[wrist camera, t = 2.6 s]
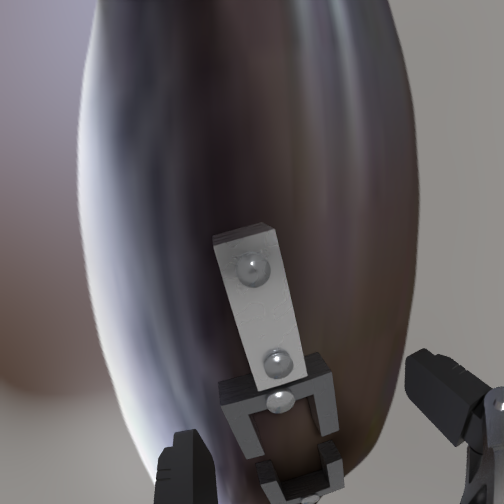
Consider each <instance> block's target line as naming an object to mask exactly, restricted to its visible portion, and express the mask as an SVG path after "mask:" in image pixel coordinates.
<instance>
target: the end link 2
mask: <svg viewBox="0 0 504 504" xmlns="http://www.w3.org/2000/svg"><path fill="white" fill-rule="evenodd" d="M318 450H319V455H320V460H321V465H322V470H319V471H316V472H313V473H310V474H307V475H304V476H301V477H298V478H294V479H291V480H288V481H284V482H280V480H279V478H278V476H277V473H276V471H275V469H274V466H273V464H272V462H271V460H267V461H263V462H259V463H255V464H256V468H257V473H258V477H259V481H260V485H261V487H262V489H263V491H264V492H265V494H266V496H267V498H268V499H269V501H270V503H271V504H298V503H302V504H314V503H316V502H317V501H318V500H319V497H320V496H323V495H325V494H328V493H331V492H334V491H336V490H339V489H341V488H344V475H343V463H342V458H341V456H340V454H339V452H338V450H337V448H336V446H335V444H334V442H333V440H329V441H326V442H324V443H321V444H318Z"/></svg>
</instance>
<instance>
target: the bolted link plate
mask: <svg viewBox="0 0 504 504" xmlns="http://www.w3.org/2000/svg"><path fill="white" fill-rule="evenodd" d="M212 239H213V248H214V251H215V254H216V258H217V261H218V265H219V268H220V272H221V275H222V278H223V282H224V285H225V288H226V292H227V295H228V298H229V302H230V305H231V308H232V311H233V315H234V318H235V321H236V324H237V327H238V331H239V334H240V337H241V340H242V343H243V346H244V349H245V353H246V356H247V359H248V362H249V365H250V368H251V371H252V374H253V377H254V380H255V383H256V386H257V389H258V391H262V390H265V389H269V388H272V387H275V386H279V385H282V384H285V383H288V382H291V381H294V380H297V379H300V378H303V377H306V376H307V371H306V366H305V361H304V356H303V351H302V347H301V342H300V337H299V333H298V328H297V323H296V319H295V314H294V310H293V305H292V301H291V296H290V292H289V288H288V283H287V279H286V274H285V270H284V266H283V262H282V257H281V253H280V249H279V245H278V240H277V236H276V232H275V229H274V228H272V227H270V226H268V225H267V224H265V223H263V222H261V223H257V224H253V225H250V226H246V227H242V228H239V229H235V230H231V231H228V232H224V233H221V234H217V235H214V236H212Z"/></svg>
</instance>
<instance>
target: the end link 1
mask: <svg viewBox="0 0 504 504" xmlns="http://www.w3.org/2000/svg"><path fill="white" fill-rule="evenodd" d="M304 361H305V366H306V371H307V376H306V377H303V378H300V379H297V380H294V381H291V382H288V383H285V384H282V385H279V386H275V387H272V388H269V389H265V390H262V391H258V389H257V386H256V383H255V380H254V377H253V374H252V373H251V374H247V375H244V376H240V377H236V378H233V379H229V380H225V381H221V382H218V384H219V395H220V405H221V408H222V410H223V412H224V415H225V417H226V419H227V421H228V423H229V425H230V427H231V429H232V431H233V433H234V436H235V438H236V440H237V442H238V444H239V446H240V448H241V450H242V451H243V453H244V455H245V457H246V459H250V458H254V457H258V456H262V455H265V453H264V449H263V445H262V441H261V438H260V434H259V430H258V428H257V425H256V423H255V420H254V418H253V415H252V413H255V412H259V411H263V410H266V409H268V410H269V411H271V412H273V413H283V412H286V411H288V410H289V409H291V408H292V407H293V405H294V403H295V400H298V399H301V398H304V397H308V402H309V407H310V411H311V416H312V418H313V420H314V422H315V424H316V426H317V428H318V430H319V432H320V434H321V436H325V435H328V434H330V433H333V432H336V431H338V430H339V424H338V416H337V407H336V400H335V392H334V385H333V378H332V372H331V370H330V369H329V367H328V366H327V364H326V363H325V362H324V360H323V359H322V357H321V356H320V354H319V353H318V352H316V353H313V354H311V355H308V356H305V357H304Z"/></svg>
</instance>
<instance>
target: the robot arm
mask: <svg viewBox="0 0 504 504" xmlns="http://www.w3.org/2000/svg"><path fill="white" fill-rule="evenodd" d="M405 365H406V366H405V391H406V394H407V395H408V397H409V399H410V400H411V401H412V402H413V403H414V404H415V405H416V406H417V407H418V408H419V409H420V410H421V411H422V413H423V414H424V415H425V416H426V417H427V418H428V419H429V420H430V421H431V422H432V423H433V424H434V425H435V426H436V427H437V428H438V429H439V430H440V431H441V432H442V433H443V435H444V436H445V437H446V438H447V439H448V440H449V441H450V442H451V443H452V444H453V445H454V446H455V447H457V446H458V445H460V444H461V443H462V442H464V441H466V442H467V443H468V446H467V463H466V479H465V489H464V493H463V496H462V498H461V502H460V504H504V387H503V386H501V387H496V388H491V387H489V386H488V385H487V384H485V383H484V382H483V381H481V380H480V379H479V378H477V377H476V376H475V375H473V374H472V373H470V372H469V371H468V370H467V371H466V370H465V368H464V367H462V366H461V365H459V364H458V363H457V362H455V361H454V360H453V359H451V358H450V357H447V356H443V355H440V354H437V355H433V354H432V353H431V352H430V351H428V350H427V349H424V348H423V349H421V350H419V351H417V352H415V353H413V354H411V355H410V356H408V357H407V358H406V362H405ZM157 471H158V472H157V474H156V480H157V481H156V484H155V494H154V504H218V498H217V487H216V475H215V465H214V461H213V458H212V455H211V453H210V452H209V450H208V448H207V447H206V445H205V443H204V442H203V440H202V438H201V437H200V435H199V433H198V431H197V430H196V429H192V430H187V431H181V432H175V434H174V439H173V447H166V448H164V450H163V452H162V453H161V455H160V457H159V458H158V465H157Z"/></svg>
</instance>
